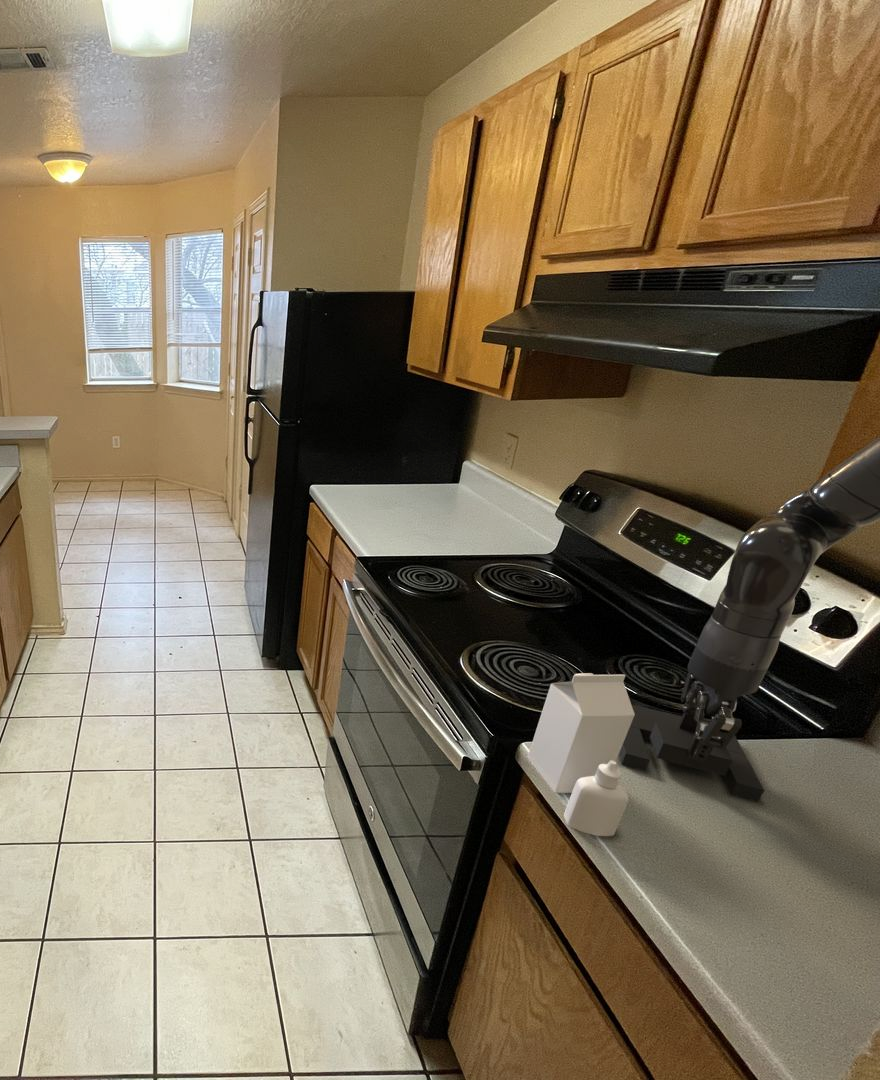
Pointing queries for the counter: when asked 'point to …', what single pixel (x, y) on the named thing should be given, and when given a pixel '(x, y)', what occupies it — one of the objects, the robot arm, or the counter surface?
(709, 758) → the small pad
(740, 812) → the counter surface
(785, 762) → the counter surface
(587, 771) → the milk carton
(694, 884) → the counter surface
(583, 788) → the eye dropper bottle
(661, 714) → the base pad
